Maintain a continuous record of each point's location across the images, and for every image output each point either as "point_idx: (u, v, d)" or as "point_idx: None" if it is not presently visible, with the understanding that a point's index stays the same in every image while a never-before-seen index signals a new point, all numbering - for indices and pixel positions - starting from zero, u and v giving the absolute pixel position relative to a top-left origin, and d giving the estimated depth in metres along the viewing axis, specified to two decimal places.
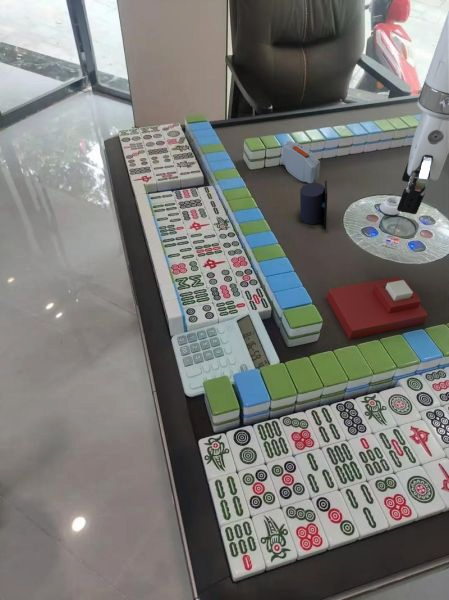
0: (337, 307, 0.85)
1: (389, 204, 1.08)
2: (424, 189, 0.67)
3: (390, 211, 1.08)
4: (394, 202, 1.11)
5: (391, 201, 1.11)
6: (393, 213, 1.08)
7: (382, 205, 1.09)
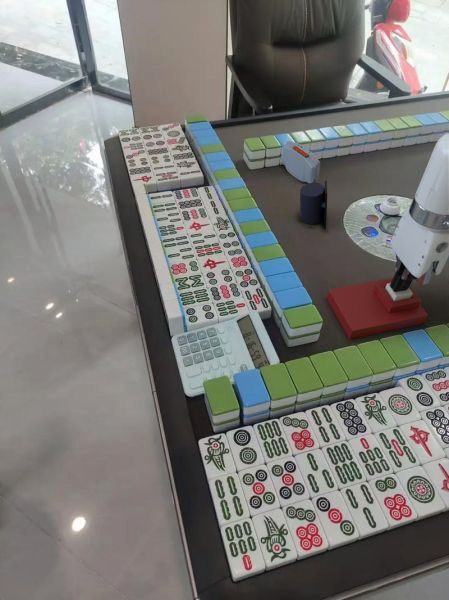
0: (337, 307, 0.85)
1: (389, 204, 1.08)
2: None
3: (390, 211, 1.08)
4: (394, 202, 1.11)
5: (391, 201, 1.11)
6: (393, 213, 1.08)
7: (382, 205, 1.09)
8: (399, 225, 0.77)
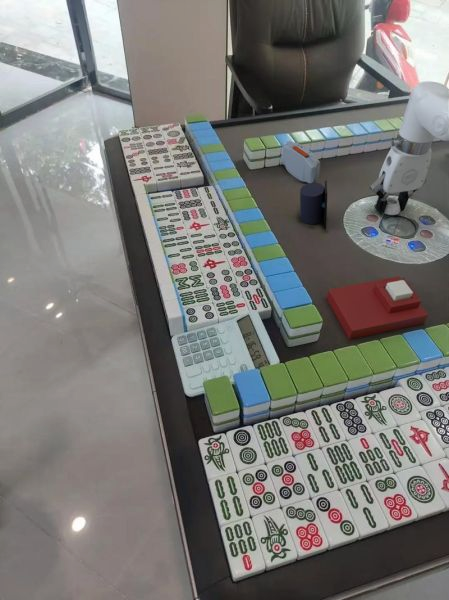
0: (337, 307, 0.85)
1: (389, 204, 1.08)
2: (378, 194, 1.04)
3: (390, 211, 1.08)
4: (394, 202, 1.11)
5: (391, 201, 1.11)
6: (393, 213, 1.08)
7: None
8: None
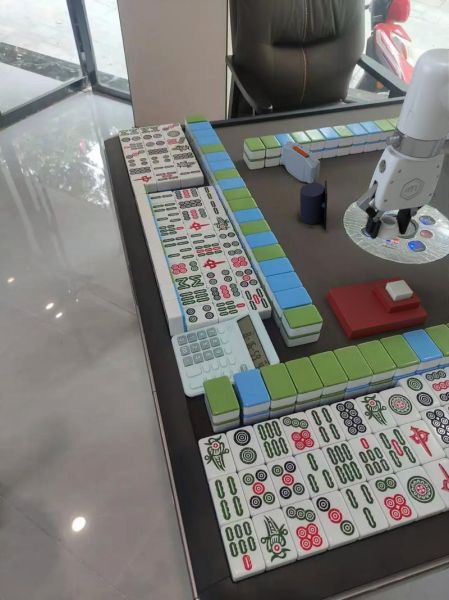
0: (337, 307, 0.85)
1: (384, 225, 0.78)
2: (368, 211, 0.75)
3: (385, 235, 0.78)
4: (391, 222, 0.81)
5: (387, 220, 0.81)
6: (389, 237, 0.79)
7: None
8: None
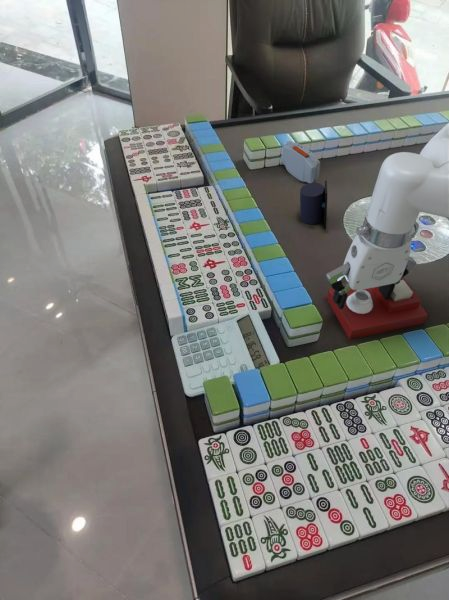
0: (337, 307, 0.85)
1: (358, 300, 0.82)
2: (334, 287, 0.77)
3: (359, 309, 0.82)
4: (365, 294, 0.85)
5: (362, 293, 0.85)
6: (363, 312, 0.83)
7: (349, 300, 0.84)
8: None
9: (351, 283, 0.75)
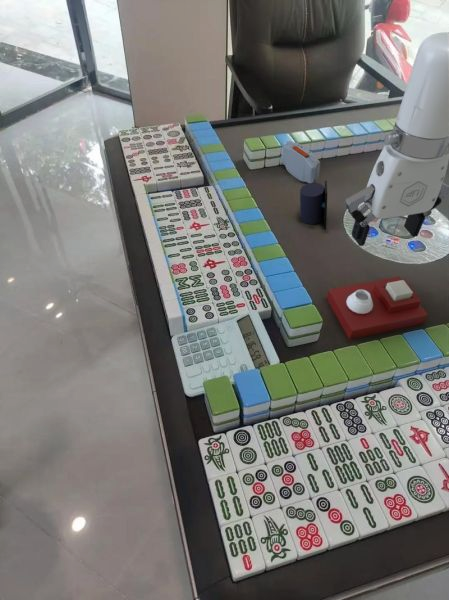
0: (337, 307, 0.85)
1: (358, 300, 0.82)
2: (355, 215, 0.65)
3: (359, 309, 0.82)
4: (365, 294, 0.85)
5: (362, 293, 0.85)
6: (363, 312, 0.83)
7: (349, 300, 0.84)
8: None
9: (375, 209, 0.64)
